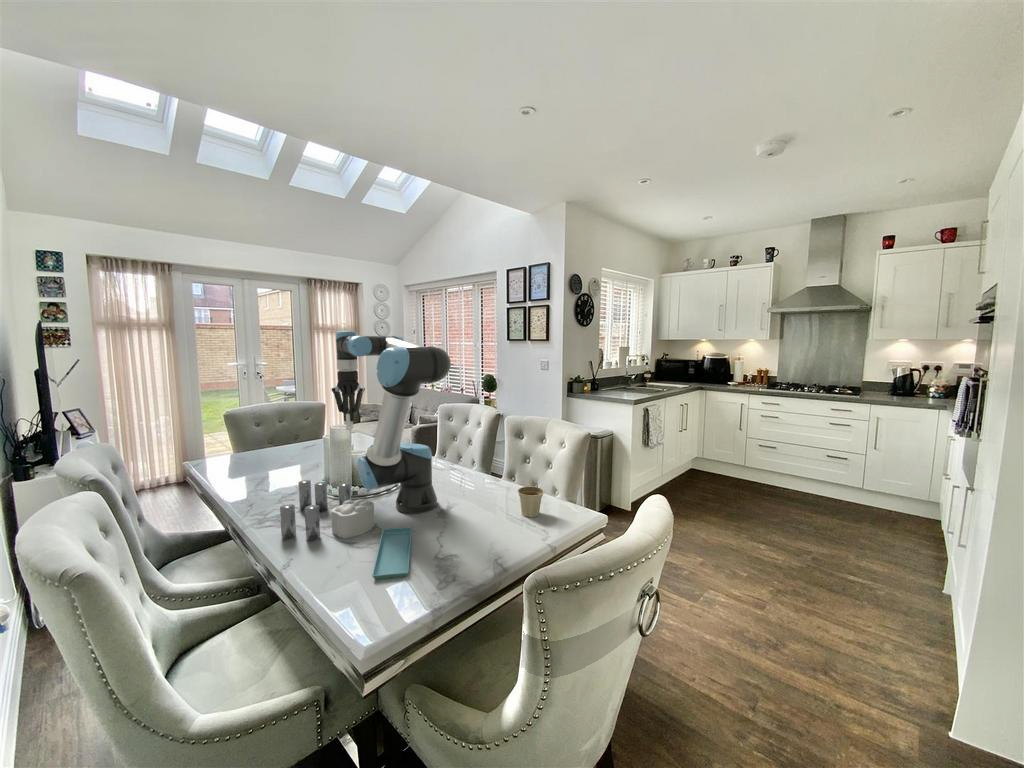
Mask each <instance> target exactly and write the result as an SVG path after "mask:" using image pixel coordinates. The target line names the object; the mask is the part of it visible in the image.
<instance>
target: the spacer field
mask: <svg viewBox="0 0 1024 768" xmlns="http://www.w3.org/2000/svg"><path fill="white" fill-rule="evenodd" d="M311 482H312V481H311V480H310V479H303V480H300V481H298V498H299V499H298V501H299V510H300V509H301V510H300V511H304V522H305V540H306V541H307V542H315V540H316V541H318V540H320V539H321V523H320V521H321V520H320V518H321V517H320V513H319V512H321V513H324V512H327V511H328V510H329V507H328V505H329V504H328V503H329V502H328V483H327V482H326V481H320V482H319V481H318V482H316V483H314V500H315V502H314V503H315V504H312V503H313V502H312V501H313V500H312V485H311V484H312V483H311ZM351 488H352V486H351V482H342V483H339V484H338V503H339V505H338V506H340V505H343V503H344V502H345V501H347V500H351V501H352V492H351V491H352V489H351ZM295 507H296V506H295V504H294V503H288V504H283V505H281V506H280V507H279V511H280V513H279V515H280V530H281V531H280V533H281V534H280V535H281V540H282V539H283V540H282V541H290V540H289V539H291V540H293V538H294V537H295V538H296V537H297V530H296V529H297V526H296V510H295V509H296V508H295ZM295 538H294V539H295ZM319 538H320V539H319ZM317 539H318V540H317Z"/></svg>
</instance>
